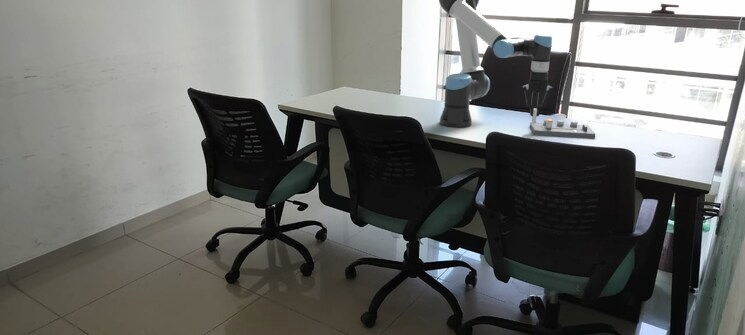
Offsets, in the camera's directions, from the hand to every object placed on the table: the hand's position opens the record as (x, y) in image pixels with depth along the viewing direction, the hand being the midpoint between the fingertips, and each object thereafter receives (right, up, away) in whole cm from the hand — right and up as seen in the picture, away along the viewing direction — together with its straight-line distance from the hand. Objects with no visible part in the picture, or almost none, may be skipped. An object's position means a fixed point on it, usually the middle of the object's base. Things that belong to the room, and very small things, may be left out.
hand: (533, 123), depth 242 cm
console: (+13, -4, +1) cm, 14 cm away
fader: (+7, -2, -1) cm, 7 cm away
